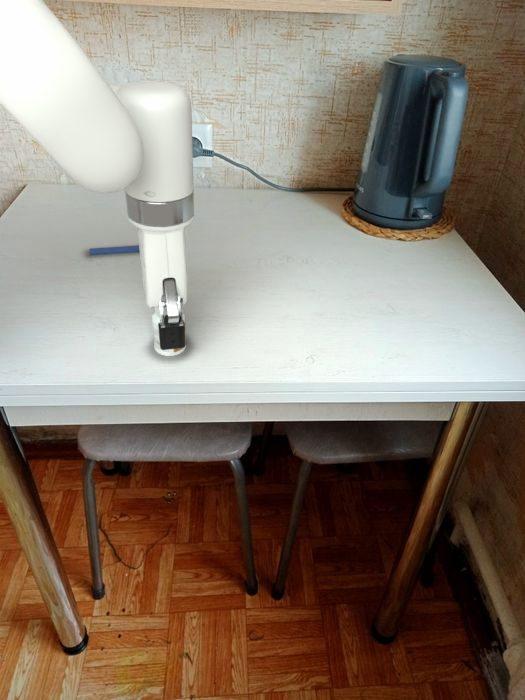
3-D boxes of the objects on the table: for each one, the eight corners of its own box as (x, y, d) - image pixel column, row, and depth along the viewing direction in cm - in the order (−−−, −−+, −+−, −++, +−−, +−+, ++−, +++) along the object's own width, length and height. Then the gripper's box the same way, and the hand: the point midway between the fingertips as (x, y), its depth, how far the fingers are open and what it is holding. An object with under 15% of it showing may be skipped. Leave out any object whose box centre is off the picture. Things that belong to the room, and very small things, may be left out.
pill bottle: (183, 358, 69) (181, 311, 64) (151, 356, 69) (146, 309, 64) (188, 338, 73) (186, 292, 68) (157, 336, 73) (153, 290, 68)
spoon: (89, 259, 88) (89, 254, 87) (89, 247, 91) (89, 242, 90) (172, 253, 91) (172, 248, 90) (169, 242, 94) (169, 237, 94)
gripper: (122, 177, 63) (136, 296, 74) (131, 243, 50) (146, 375, 62) (183, 175, 65) (187, 291, 76) (206, 238, 52) (207, 367, 63)
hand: (169, 328), depth 69 cm, fingers open, 7 cm apart
